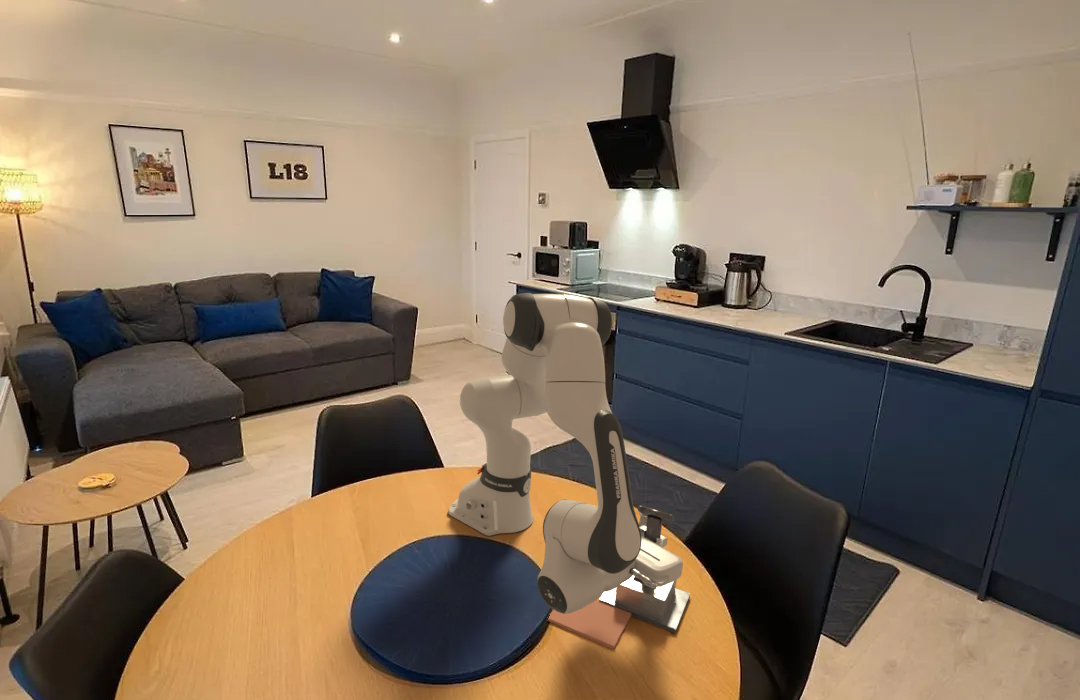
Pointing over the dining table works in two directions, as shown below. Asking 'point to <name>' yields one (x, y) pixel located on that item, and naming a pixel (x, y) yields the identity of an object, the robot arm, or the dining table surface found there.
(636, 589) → the block
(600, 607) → the key mat
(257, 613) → the dining table surface
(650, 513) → the chuck key
